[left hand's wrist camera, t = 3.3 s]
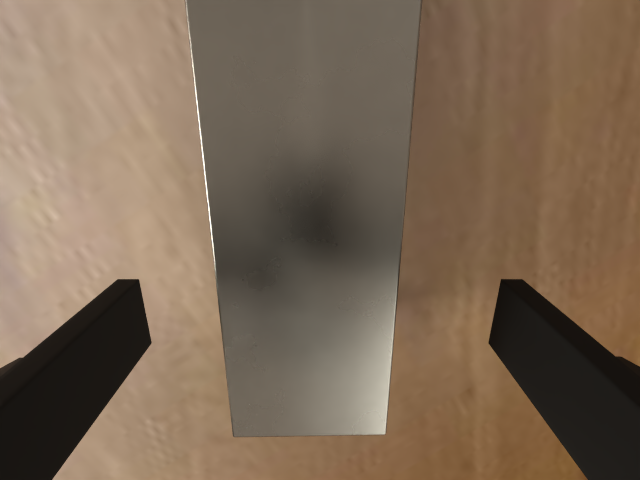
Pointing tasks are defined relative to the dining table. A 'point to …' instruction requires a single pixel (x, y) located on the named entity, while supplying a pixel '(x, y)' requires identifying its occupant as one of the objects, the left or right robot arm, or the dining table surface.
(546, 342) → the left robot arm
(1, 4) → the dining table surface
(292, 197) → the bar
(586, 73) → the dining table surface
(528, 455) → the dining table surface
